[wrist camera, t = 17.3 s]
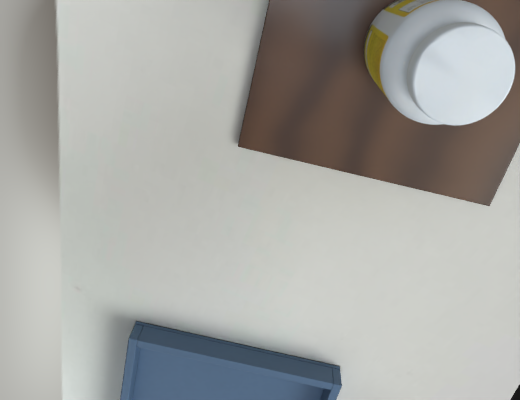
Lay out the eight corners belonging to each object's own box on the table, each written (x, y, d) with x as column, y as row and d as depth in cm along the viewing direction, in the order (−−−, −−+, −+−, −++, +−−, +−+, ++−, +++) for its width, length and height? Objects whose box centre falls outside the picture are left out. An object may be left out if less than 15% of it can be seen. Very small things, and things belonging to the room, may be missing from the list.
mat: (238, 144, 38) (237, 146, 37) (305, -167, 29) (305, -169, 29) (487, 203, 38) (489, 206, 38) (624, -84, 30) (629, -85, 29)
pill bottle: (388, 109, 35) (427, 168, 25) (344, 30, 33) (367, 57, 23) (475, 60, 33) (557, 100, 23) (434, -28, 31) (504, -28, 21)
